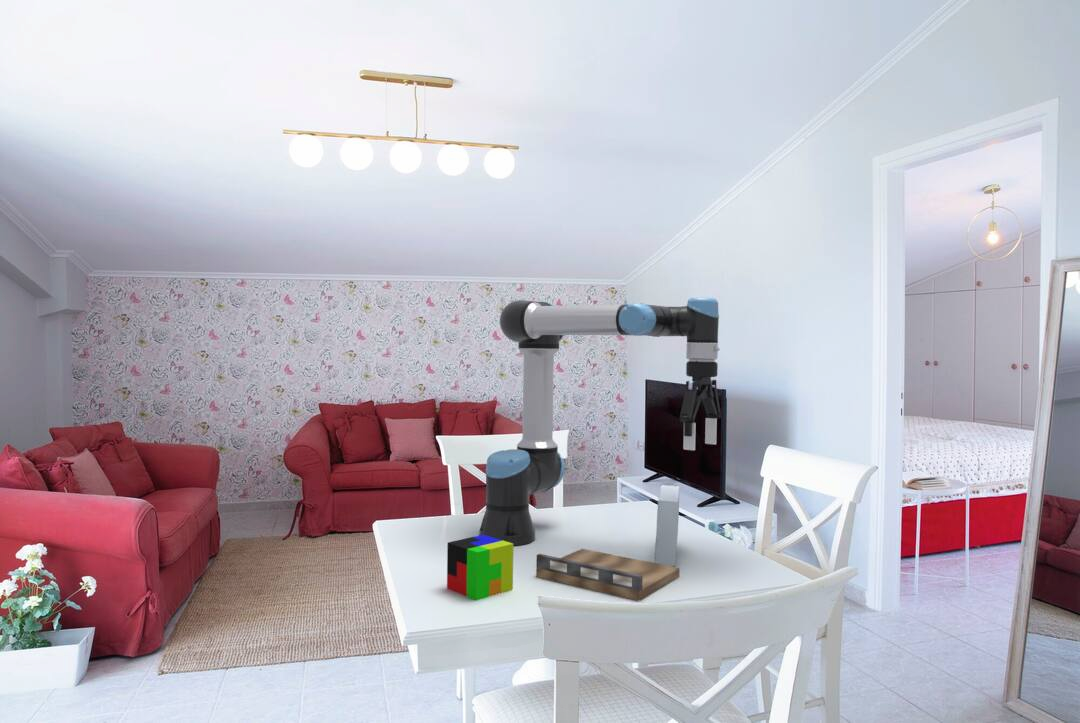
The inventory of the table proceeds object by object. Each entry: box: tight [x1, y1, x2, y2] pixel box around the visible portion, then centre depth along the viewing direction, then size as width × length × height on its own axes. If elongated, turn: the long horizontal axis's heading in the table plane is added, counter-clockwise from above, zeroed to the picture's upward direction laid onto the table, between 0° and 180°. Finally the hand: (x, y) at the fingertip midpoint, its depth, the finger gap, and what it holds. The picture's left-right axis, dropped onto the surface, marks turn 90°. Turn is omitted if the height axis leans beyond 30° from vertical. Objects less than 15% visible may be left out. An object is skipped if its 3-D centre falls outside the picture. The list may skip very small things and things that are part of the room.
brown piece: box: [535, 548, 680, 601], centre depth 167 cm, size 26×20×5 cm
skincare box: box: [653, 484, 680, 567], centre depth 186 cm, size 21×6×16 cm, turn 168°
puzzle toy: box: [446, 534, 514, 601], centre depth 158 cm, size 10×10×10 cm
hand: (700, 446), depth 181 cm, fingers open, 13 cm apart
